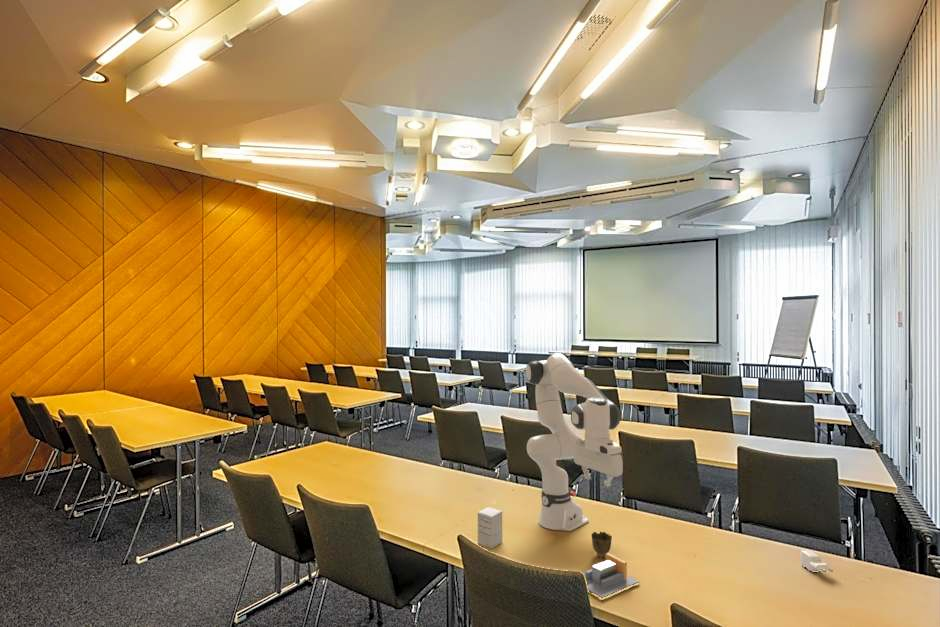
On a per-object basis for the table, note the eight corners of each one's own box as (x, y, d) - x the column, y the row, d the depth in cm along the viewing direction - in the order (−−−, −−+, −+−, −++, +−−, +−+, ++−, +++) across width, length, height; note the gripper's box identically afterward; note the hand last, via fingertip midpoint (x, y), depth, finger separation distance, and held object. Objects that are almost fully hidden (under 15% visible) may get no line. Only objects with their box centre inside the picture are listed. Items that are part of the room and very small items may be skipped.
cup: (608, 551, 194) (608, 530, 194) (614, 561, 187) (614, 539, 187) (589, 551, 194) (589, 531, 194) (594, 561, 187) (594, 539, 187)
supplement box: (488, 537, 207) (488, 506, 207) (502, 542, 202) (503, 510, 202) (476, 543, 201) (477, 511, 201) (491, 549, 196) (491, 516, 196)
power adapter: (835, 581, 173) (835, 563, 173) (822, 581, 173) (822, 564, 173) (810, 565, 184) (810, 549, 185) (798, 565, 184) (798, 549, 184)
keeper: (606, 567, 182) (606, 547, 182) (638, 585, 170) (638, 563, 170) (570, 581, 172) (570, 560, 172) (601, 601, 160) (601, 578, 160)
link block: (608, 574, 175) (608, 559, 175) (616, 578, 172) (616, 563, 172) (592, 580, 170) (592, 565, 171) (599, 585, 168) (599, 570, 168)
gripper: (570, 439, 188) (570, 476, 188) (613, 451, 171) (613, 492, 171) (582, 436, 191) (582, 473, 191) (625, 448, 174) (625, 488, 174)
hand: (597, 482), depth 181 cm, fingers open, 8 cm apart
